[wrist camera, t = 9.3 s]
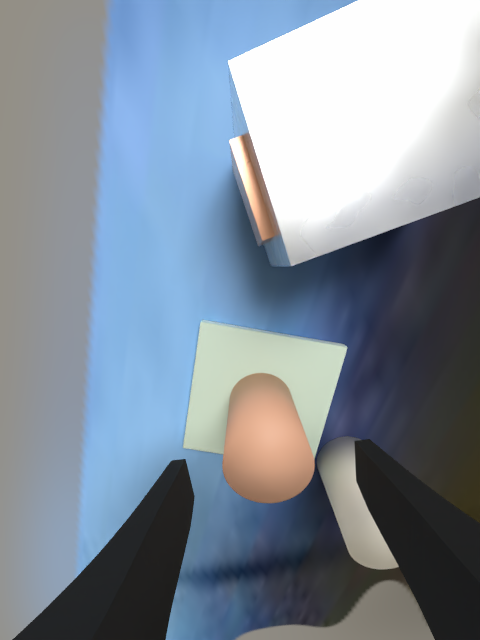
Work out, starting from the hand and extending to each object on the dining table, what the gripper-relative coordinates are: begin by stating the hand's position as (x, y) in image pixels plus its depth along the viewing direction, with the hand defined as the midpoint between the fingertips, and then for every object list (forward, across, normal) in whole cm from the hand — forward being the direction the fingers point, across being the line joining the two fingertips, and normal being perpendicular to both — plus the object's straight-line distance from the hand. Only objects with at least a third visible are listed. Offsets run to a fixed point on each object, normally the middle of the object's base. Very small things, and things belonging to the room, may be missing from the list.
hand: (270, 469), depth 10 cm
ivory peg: (+6, -5, +6) cm, 10 cm away
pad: (+6, 0, 0) cm, 6 cm away
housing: (+6, -5, -12) cm, 14 cm away
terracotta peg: (+5, 0, 0) cm, 5 cm away
